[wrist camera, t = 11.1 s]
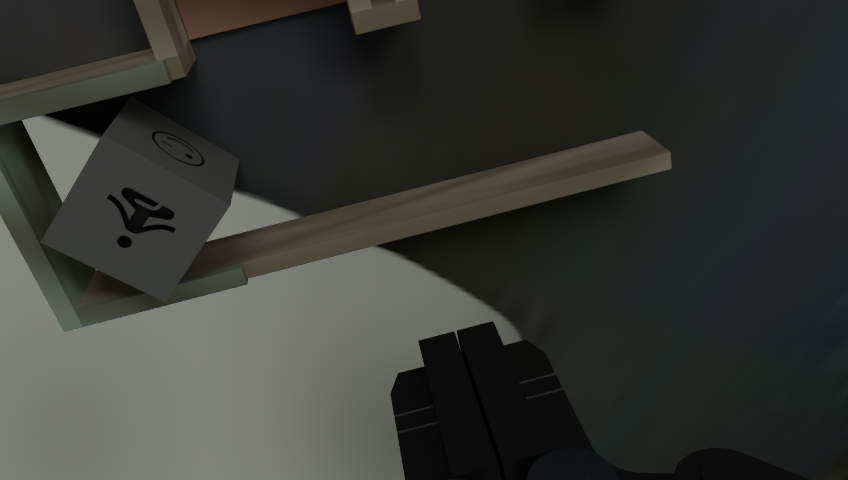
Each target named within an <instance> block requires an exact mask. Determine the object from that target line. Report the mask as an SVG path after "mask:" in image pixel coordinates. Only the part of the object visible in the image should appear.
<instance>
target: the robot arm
mask: <svg viewBox="0 0 848 480" xmlns="http://www.w3.org/2000/svg"><path fill="white" fill-rule="evenodd" d="M457 335H458V340H459V344H458V341H457V338H456V335H455V333H454V332H450V333H446V334H442V335H439V336H435V337H431V338H427V339H423V340H419V341H418V342H419V346H420V349H421V354H422V358H423V362H424V367H420V368H416V369H413V370H409V371H405V372H401V373H398V375H397V378H396V381H395V383H394V386H393V388H392V391H391V399H392V405H393V411H394V415H395V423H396V428H397V433H398V439H399V446H400V451H401V457H402V463H403V469H404V475H405V480H809V479H807V478H804V477H802V476H799V475H797V474H794V473H792V472H789V471H787V470H784V469H782V468H779V467H777V466H774V465H772V464H769V463H767V462H764V461H762V460H759V459H757V458H754V457H752V456H749V455H747V454H744V453H741V452H738V451H735V450H731V449H726V448H707V449H702V450H698V451H695V452H693V453H691V454H689V455H687V456H686V457H685V458H683V459H682V460H681V461H680V463H679V464H678V465H677V467H676V469H675V472H674V474H664V473H636V472H630V471H626V470H623V469H620V468H617V467H615V466H613V465H611V464H609V462H607V461H606V460H605V459H604V458H603V457H601V456H600V455H598V454H597V453H596V452H595V451H594V449H593V447H592V446H591V444H590V442H589V440H588V438H587V436H586V434H585V432H584V430H583V428H582V426H581V424H580V422H579V420H578V418H577V416H576V414H575V412H574V410H573V408H572V406H571V404H570V402H569V400H568V398H567V396H566V394H565V392H564V391H563V390H562V386H561V384H560V382H559V380H558V378H557V376H556V375H555V373H554V370H553V368H552V366H551V364H550V362H549V360H548V358H547V356H546V354H545V353H544V352H543V351H541V350H540V349H538V348H537V347H536V346H534V345H533V344H532V343H530V342H529V341H527V340H523V341H519V342H516V343H512V344H508V345H503V343H502V340H501V338H500V336H499V333H498V331H497V329H496V327H495V324H494V322H493V321H492V322H488V323H484V324H480V325H477V326H473V327H469V328H465V329H461V330H457ZM459 345H460V347H459ZM460 349H461V350H460Z"/></svg>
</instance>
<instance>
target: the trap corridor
mask: <svg viewBox="0 0 848 480" xmlns="http://www.w3.org/2000/svg"><path fill="white" fill-rule="evenodd" d="M343 2H345V0H176V1H175V0H134V3H135V6H136V8H137V11H138V13H139V16H140V19H141V21H142V24H143V26H144V29H145V32H146V34H147V37H148V39H149V42H150V45H151V47H152V48H151V49H146V50H142V51H138V52H134V53H130V54H126V55H122V56H118V57H114V58H110V59H105V60H101V61H97V62H93V63H89V64H85V65H81V66H77V67H73V68H68V69H64V70H60V71H56V72H52V73H48V74H44V75H40V76H36V77H32V78H27V79H23V80H19V81H15V82H11V83H7V84H3V85H0V215H1V217H2V218H3V220H4V222H5V224H6V226H7V228H8V229H9V231H10V233H11V235H12V237H13V239H14V240H15V242H16V244H17V246H18V248H19V250H20V252H21V253H22V255H23V257H24V259H25V261H26V262H27V264H28V266H29V268H30V270H31V272H32V274H33V276H34V277H35V279H36V281H37V282H38V285H39V286H40V288H41V290H42V292H43V294H44V296H45V297H46V299H47V301H48V303H49V305H50V307H51V308H52V310H53V312H54V314H55V316H56V317H57V320H58V321H59V323H60V325H61V327H62V329H63V331H69V330H73V329H77V328H80V327H85V326H88V325H92V324H96V323H100V322H103V321H107V320H112V319H115V318H119V317H123V316H127V315H130V314H134V313H138V312H142V311H146V310H150V309H154V308H158V307H161V306H165V305H169V304H173V303H177V302H181V301H185V300H188V299H192V298H196V297H200V296H204V295H208V294H211V293H216V292H219V291H223V290H227V289H231V288H235V287H239V286H242V285H246V284H247V281H248V278H251V277H255V276H259V275H263V274H267V273H270V272H274V271H278V270H282V269H286V268H290V267H294V266H298V265H302V264H306V263H309V262H313V261H317V260H321V259H325V258H329V257H333V256H336V255H340V254H344V253H348V252H352V251H356V250H360V249H363V248H367V247H371V246H375V245H379V244H383V243H387V242H390V241H394V240H398V239H402V238H406V237H410V236H414V235H417V234H421V233H425V232H429V231H433V230H437V229H441V228H444V227H448V226H452V225H456V224H460V223H464V222H468V221H471V220H475V219H479V218H483V217H487V216H491V215H495V214H498V213H502V212H506V211H510V210H514V209H518V208H522V207H525V206H529V205H533V204H537V203H541V202H545V201H549V200H552V199H556V198H560V197H564V196H568V195H572V194H576V193H579V192H583V191H587V190H591V189H595V188H599V187H603V186H606V185H610V184H614V183H618V182H622V181H626V180H630V179H633V178H637V177H641V176H645V175H649V174H653V173H657V172H660V171H664V170H668V169H671V152H670V151H669V150H667V149H666V148H665V147H663V146H662V145H661V144H659V143H658V142H656V141H655V140H654V139H652V138H651V137H650V136H648V135H647V134H646V133H644V132H643V131H642V130H641V131H637V132H633V133H630V134H626V135H622V136H618V137H614V138H610V139H606V140H602V141H598V142H594V143H591V144H587V145H583V146H579V147H575V148H571V149H567V150H563V151H559V152H555V153H552V154H548V155H544V156H540V157H536V158H532V159H528V160H524V161H520V162H516V163H513V164H509V165H505V166H501V167H497V168H493V169H489V170H485V171H481V172H477V173H474V174H470V175H466V176H462V177H458V178H454V179H450V180H446V181H442V182H438V183H434V184H431V185H427V186H423V187H419V188H415V189H411V190H407V191H403V192H399V193H395V194H392V195H388V196H384V197H380V198H376V199H372V200H368V201H364V202H360V203H356V204H353V205H349V206H345V207H341V208H337V209H333V210H329V211H325V212H321V213H317V214H314V215H310V216H306V217H302V218H298V219H294V220H290V221H286V222H283V223H279V224H275V225H271V226H267V227H263V228H259V229H255V230H251V231H247V232H243V233H240V234H236V235H232V236H228V237H224V238H220V239H216V240H212V241H209V242H205V244H204V245H203V247H202V248H201V250H200V251H199V253H198V254H197V256H196V257H195V259H194V260H193V262H192V263H191V265H190V266H189V268H188V269H187V271H186V272H185V274H184V275H183V277H182V278H181V280H180V281H179V283H178V284H177V286H176V287H175V289H174V290H173V292H172V293H171V295H170V296H169V298H168V299H167V301H166V302H164V301H162V300H160V299H158V298H156V297H153V296H151V295H149V294H147V293H145V292H143V291H141V290H139V289H137V288H135V287H133V286H130V285H128V284H126V283H124V282H122V281H120V280H118V279H116V278H114V277H112V276H110V275H107V274H105V273H103V272H101V271H99V270H95V268H93V267H91V266H89V265H86V264H84V263H82V262H80V261H78V260H76V259H74V258H72V257H70V256H68V255H66V254H63V253H61V252H59V251H57V250H55V249H53V248H51V247H49V246H47V245H45V244H43V243H40V242H41V240H42V238H43V237H44V235H45V233H46V232H47V230H48V228H49V226H50V225H51V223H52V221H53V219H54V218H55V216H56V214H57V213H58V211H59V209H60V207H61V206H62V204H63V203H62V201H61V199H60V197H59V195H58V193H57V191H56V189H55V187H54V185H53V183H52V181H51V179H50V177H49V175H48V173H47V171H46V169H45V167H44V165H43V163H42V161H41V159H40V157H39V154H38V153H37V151H36V148H35V146H34V144H33V142H32V140H31V138H30V136H29V134H28V132H27V130H26V128H25V126H24V124H23V122H22V120H24V119H28V118H32V117H36V116H40V115H44V114H48V113H52V112H56V111H60V110H64V109H68V108H73V107H77V106H81V105H85V104H89V103H93V102H97V101H101V100H105V99H109V98H113V97H117V96H121V95H125V94H129V93H134V92H138V91H142V90H146V89H150V88H154V87H158V86H162V85H166V84H170V83H171V82H172V80H175V79H179V78H183V77H186V76H187V74H188V72H189V70H190V69H191V67H192V65H193V63H194V61H195V59H196V57H195V54H194V52H193V49H192V46H191V43H190V40H191V39H195V38H199V37H203V36H207V35H212V34H216V33H220V32H224V31H228V30H232V29H236V28H240V27H244V26H248V25H253V24H257V23H261V22H265V21H269V20H273V19H277V18H281V17H285V16H289V15H294V14H298V13H302V12H306V11H310V10H314V9H318V8H322V7H326V6H331V5H335V4H339V3H343ZM346 2H347V6H348V10H349V14H350V18H351V22H352V24H353V27H354V30H355V32H356V35H358V34H362V33H366V32H370V31H374V30H378V29H382V28H386V27H390V26H394V25H398V24H402V23H406V22H410V21H415V20H419V19H421V16H420V12H419V7H418V2H417V0H346ZM176 3H177V4H176ZM177 6H178V7H177ZM178 9H179V10H178ZM179 12H180V13H179ZM180 14H181V15H180ZM181 17H182V18H181ZM182 20H183V21H182ZM183 23H184V24H183ZM184 26H185V27H184ZM185 28H186V29H185ZM186 31H187V32H186ZM187 34H188V35H187ZM188 37H189V38H188Z"/></svg>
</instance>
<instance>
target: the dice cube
mask: <svg viewBox="0 0 848 480" xmlns="http://www.w3.org/2000/svg"><path fill="white" fill-rule="evenodd" d="M238 165H239V159H238V158H236V157H234V156H233V155H231V154H229V153H227V152H226V151H224V150H222V149H221V148H219V147H217V146H215V145H214V144H212V143H210V142H209V141H207V140H205V139H203V138H202V137H200V136H198V135H197V134H195V133H193V132H191V131H190V130H188V129H186V128H185V127H183V126H181V125H179V124H178V123H176V122H174V121H173V120H171V119H169V118H167V117H166V116H164V115H162V114H160V113H159V112H157V111H155V110H154V109H152V108H150V107H148V106H147V105H145V104H143V103H142V102H140V101H138V100H136V99H135V98H133V97H131V98H130V99H129V100H128V102H127V103H126V104H125V106H124V107H123V108H122V110H121V111H120V112H119V114H118V115H117V116H116V118H115V119H114V120H113V122H112V123H111V124H110V126H109V127H108V128H107V130H106V131H105V132H104V134H103V135H102V137H101V139H100V140H99V142H98V144H97V146H96V147H95V149H94V151H93V152H92V154H91V156H90V158H89V159H88V161H87V163H86V165H85V166H84V168H83V170H82V171H81V173H80V175H79V177H78V178H77V180H76V182H75V183H74V185H73V187H72V189H71V191H70V192H69V194H68V195H67V197H66V199H65V201H64V202H63V204H62V206H61V207H60V209H59V211H58V213H57V214H56V216H55V218H54V219H53V221H52V223H51V225H50V226H49V228H48V230H47V232H46V233H45V235H44V237H43V238H42V240H41V242H40V243H43V244H45V245H47V246H49V247H51V248H53V249H55V250H57V251H59V252H61V253H63V254H66V255H68V256H70V257H72V258H74V259H76V260H78V261H80V262H82V263H84V264H86V265H89V266H91V267H93V268H95V269H97V270H99V271H101V272H103V273H105V274H107V275H110V276H112V277H114V278H116V279H118V280H120V281H122V282H124V283H126V284H128V285H130V286H133V287H135V288H137V289H139V290H141V291H143V292H145V293H147V294H149V295H151V296H153V297H156V298H158V299H160V300H162V301H164V302H166V301H167V299H168V298H169V296H170V295H171V293H172V292H173V290H174V289H175V287H176V286H177V284H178V283H179V281H180V280H181V278H182V277H183V275H184V274H185V272H186V271H187V269H188V268H189V266H190V265H191V263H192V262H193V260H194V259H195V257H196V256H197V254H198V253H199V251H200V250H201V248H202V247H203V245H204V244H205V242H206V241H207V239H208V238H209V236H210V235H211V233H212V232H213V230H214V229H215V227H216V226H217V224H218V223H219V221H220V220H221V218H222V217H223V215H224V214H225V212H226V211H227V209H228V208H229V206H230V204H231V199H232V194H233V189H234V185H235V180H236V175H237V170H238Z"/></svg>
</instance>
